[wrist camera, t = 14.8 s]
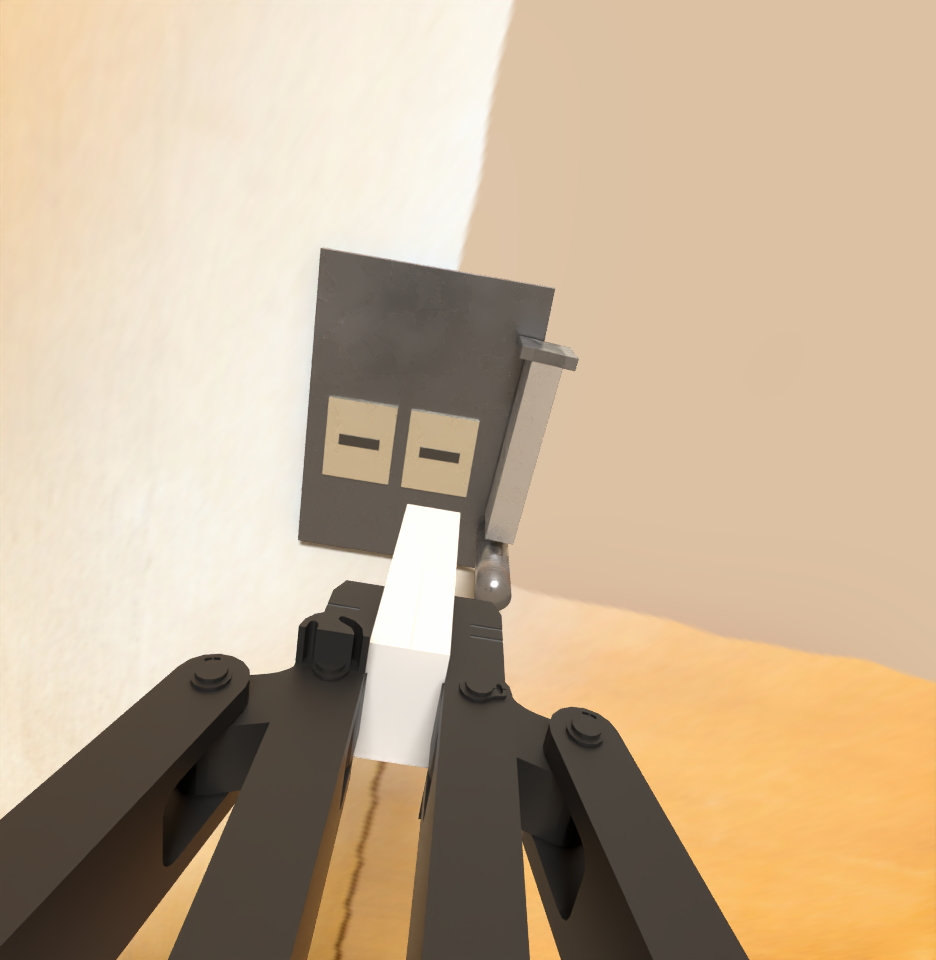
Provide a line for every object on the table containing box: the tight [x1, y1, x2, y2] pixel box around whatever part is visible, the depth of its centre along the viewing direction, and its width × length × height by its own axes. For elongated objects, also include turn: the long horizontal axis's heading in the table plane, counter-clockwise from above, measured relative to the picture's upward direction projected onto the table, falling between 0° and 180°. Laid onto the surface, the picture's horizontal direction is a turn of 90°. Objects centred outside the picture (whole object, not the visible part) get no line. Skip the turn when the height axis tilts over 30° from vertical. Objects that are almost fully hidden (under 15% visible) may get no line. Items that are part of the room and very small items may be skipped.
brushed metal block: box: [485, 336, 578, 544], centre depth 45 cm, size 14×4×4 cm, turn 167°
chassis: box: [298, 248, 555, 611], centre depth 44 cm, size 16×22×10 cm
